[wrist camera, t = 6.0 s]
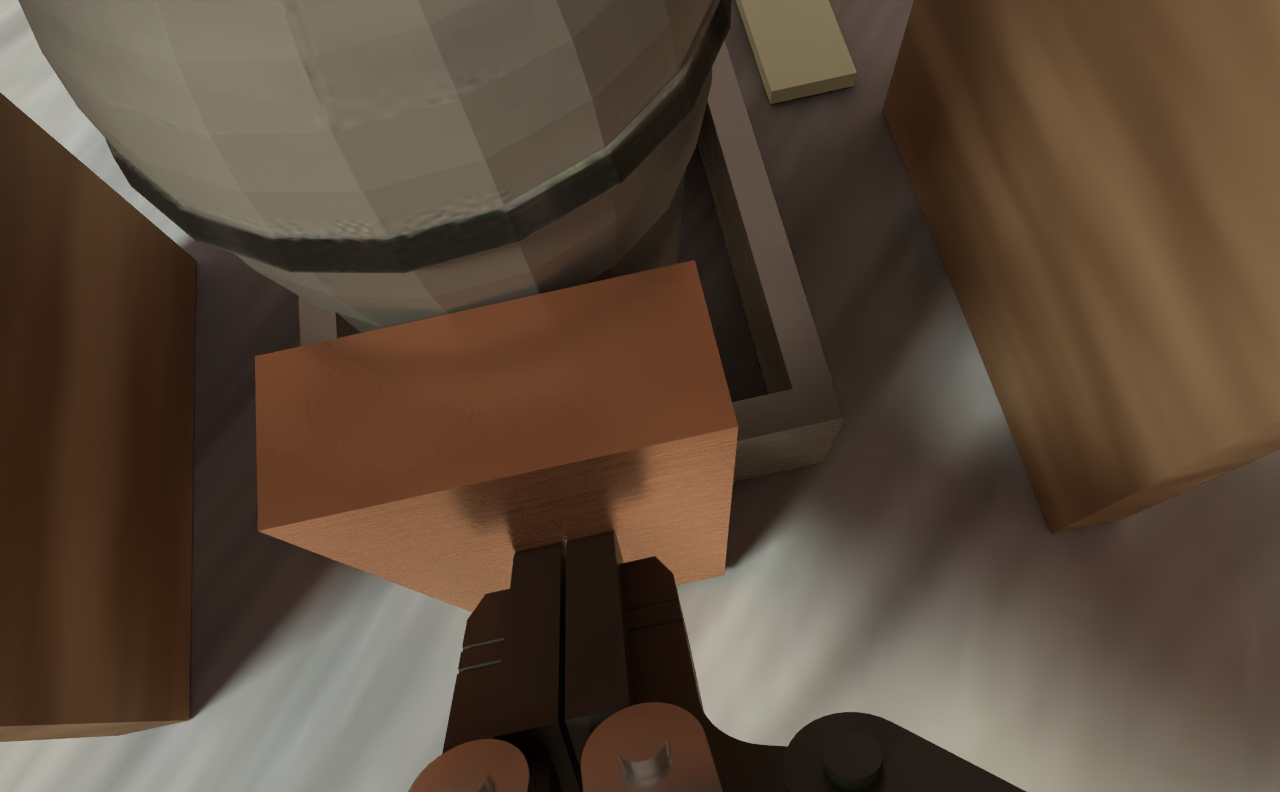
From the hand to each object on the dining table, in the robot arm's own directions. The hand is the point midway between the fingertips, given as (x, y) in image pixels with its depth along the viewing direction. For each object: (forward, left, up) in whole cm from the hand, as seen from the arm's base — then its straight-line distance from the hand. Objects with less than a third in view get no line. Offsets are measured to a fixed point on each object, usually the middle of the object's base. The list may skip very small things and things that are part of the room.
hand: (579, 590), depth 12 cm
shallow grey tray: (0, -7, -6) cm, 9 cm away
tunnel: (0, -6, -6) cm, 8 cm away
